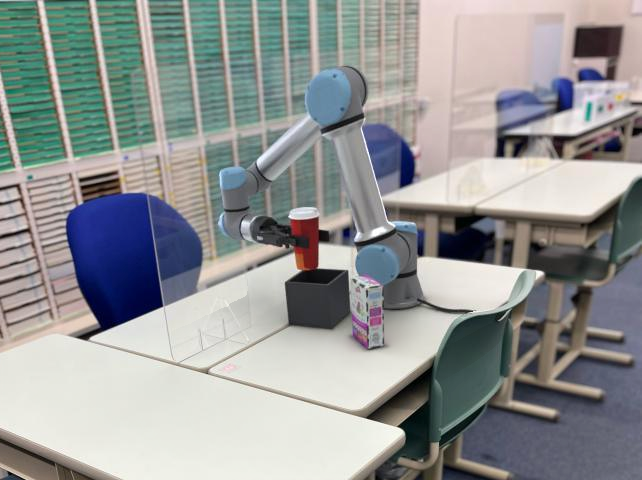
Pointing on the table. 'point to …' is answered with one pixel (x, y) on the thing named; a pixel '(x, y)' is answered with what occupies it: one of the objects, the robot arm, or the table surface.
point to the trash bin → (318, 297)
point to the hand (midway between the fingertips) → (318, 239)
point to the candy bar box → (367, 311)
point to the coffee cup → (306, 226)
